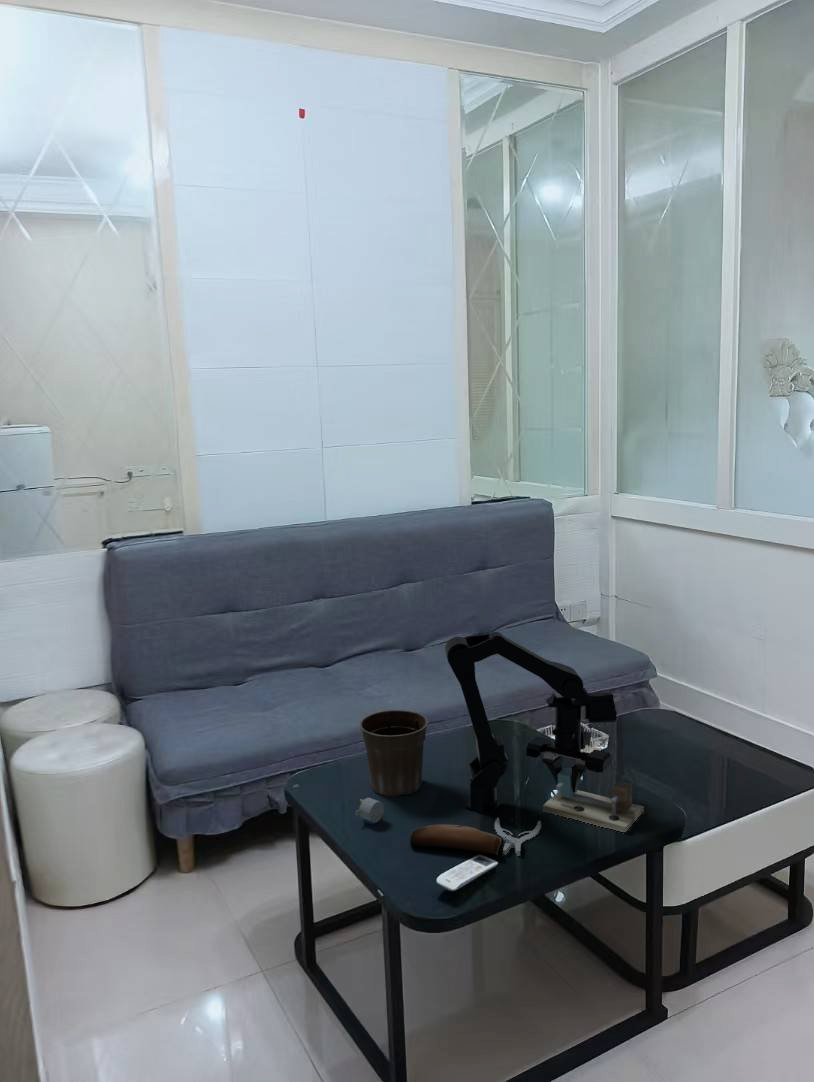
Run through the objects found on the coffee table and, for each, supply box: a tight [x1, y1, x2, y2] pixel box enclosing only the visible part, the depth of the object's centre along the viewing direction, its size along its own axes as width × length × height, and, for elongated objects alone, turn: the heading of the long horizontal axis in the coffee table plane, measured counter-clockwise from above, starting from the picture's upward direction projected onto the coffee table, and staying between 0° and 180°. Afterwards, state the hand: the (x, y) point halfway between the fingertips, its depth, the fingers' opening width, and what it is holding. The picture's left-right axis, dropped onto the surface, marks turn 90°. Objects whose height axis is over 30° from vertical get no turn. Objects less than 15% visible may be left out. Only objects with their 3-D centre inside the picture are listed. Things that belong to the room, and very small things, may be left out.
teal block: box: [555, 767, 579, 801], centre depth 193 cm, size 7×3×5 cm, turn 145°
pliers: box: [494, 817, 542, 857], centre depth 179 cm, size 10×2×15 cm
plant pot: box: [359, 709, 429, 798], centre depth 204 cm, size 16×16×16 cm
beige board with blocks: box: [542, 780, 645, 833], centre depth 189 cm, size 11×19×7 cm, turn 55°
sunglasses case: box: [409, 823, 503, 857], centre depth 177 cm, size 18×7×7 cm, turn 74°
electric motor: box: [355, 797, 385, 826], centre depth 189 cm, size 7×5×5 cm
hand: (567, 789), depth 194 cm, fingers closed on teal block, 3 cm apart
